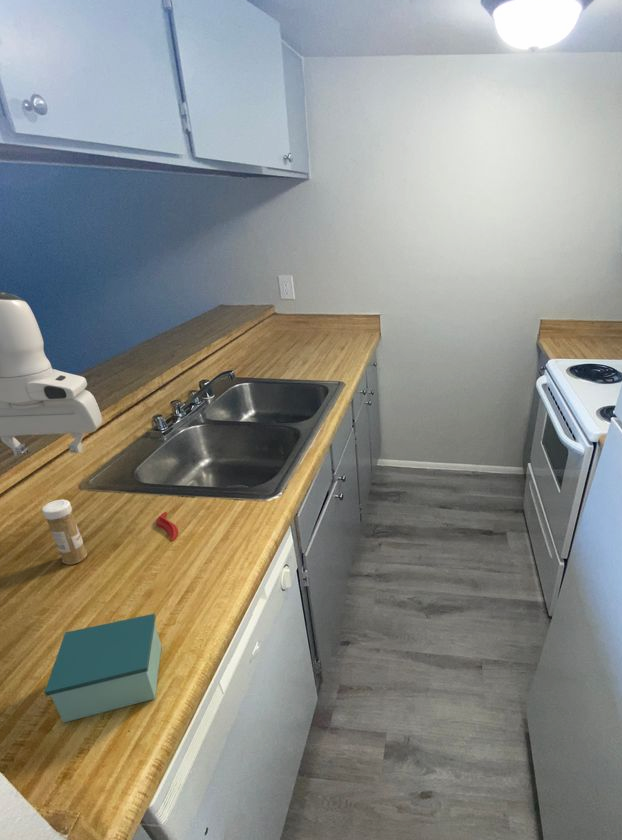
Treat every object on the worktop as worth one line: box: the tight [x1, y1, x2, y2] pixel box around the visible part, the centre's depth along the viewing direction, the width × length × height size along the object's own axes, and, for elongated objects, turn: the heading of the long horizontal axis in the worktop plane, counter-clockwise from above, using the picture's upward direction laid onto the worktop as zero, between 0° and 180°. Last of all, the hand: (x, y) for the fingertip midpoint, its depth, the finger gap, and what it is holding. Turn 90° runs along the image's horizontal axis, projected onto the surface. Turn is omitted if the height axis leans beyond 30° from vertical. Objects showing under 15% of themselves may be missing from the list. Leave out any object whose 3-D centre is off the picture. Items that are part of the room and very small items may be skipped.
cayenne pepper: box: [155, 511, 179, 542], centre depth 108 cm, size 12×5×2 cm, turn 24°
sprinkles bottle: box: [41, 499, 89, 566], centre depth 95 cm, size 5×5×14 cm
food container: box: [44, 613, 162, 723], centre depth 72 cm, size 13×11×7 cm
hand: (49, 453), depth 90 cm, fingers open, 8 cm apart
